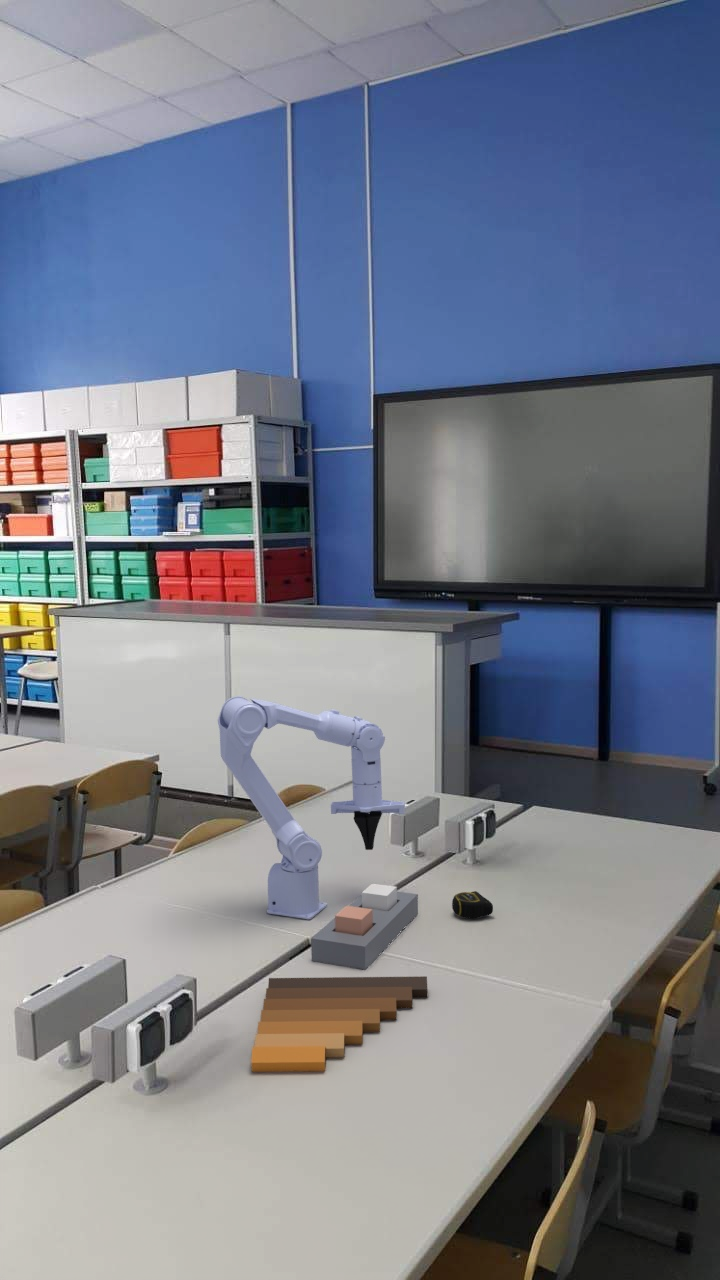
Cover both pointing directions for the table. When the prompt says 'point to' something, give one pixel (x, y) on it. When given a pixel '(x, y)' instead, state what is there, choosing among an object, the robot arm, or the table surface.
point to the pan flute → (325, 1017)
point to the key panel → (364, 948)
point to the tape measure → (471, 905)
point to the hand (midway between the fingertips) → (369, 848)
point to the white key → (379, 897)
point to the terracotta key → (354, 920)
